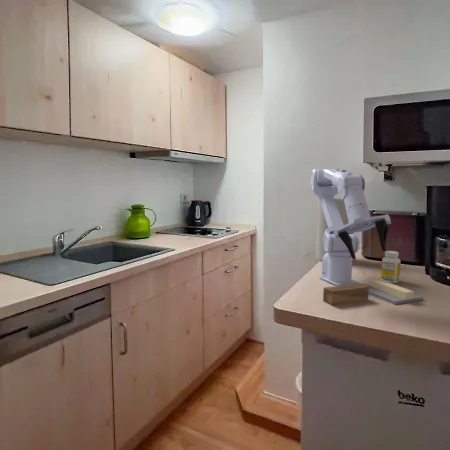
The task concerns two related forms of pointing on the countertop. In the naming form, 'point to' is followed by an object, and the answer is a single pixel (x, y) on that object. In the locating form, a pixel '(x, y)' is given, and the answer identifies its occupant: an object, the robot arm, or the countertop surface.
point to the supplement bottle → (390, 267)
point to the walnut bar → (345, 294)
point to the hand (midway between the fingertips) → (368, 253)
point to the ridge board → (390, 297)
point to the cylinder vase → (323, 226)
